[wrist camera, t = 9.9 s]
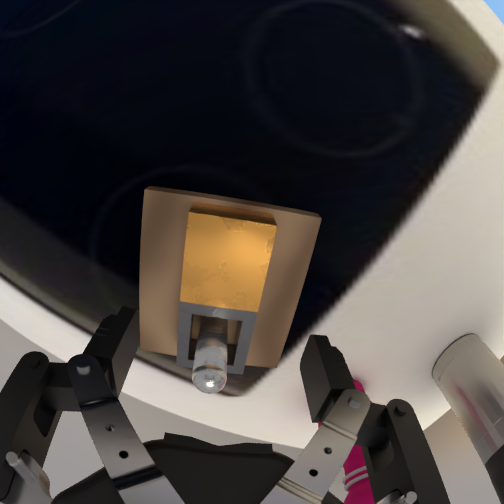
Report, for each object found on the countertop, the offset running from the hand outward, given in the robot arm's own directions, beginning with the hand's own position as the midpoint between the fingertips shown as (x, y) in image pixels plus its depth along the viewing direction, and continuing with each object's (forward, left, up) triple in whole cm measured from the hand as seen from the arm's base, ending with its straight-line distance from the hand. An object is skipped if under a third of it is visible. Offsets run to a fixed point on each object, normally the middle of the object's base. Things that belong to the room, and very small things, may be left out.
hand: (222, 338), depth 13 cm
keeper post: (0, +7, -11) cm, 14 cm away
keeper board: (0, +4, -13) cm, 14 cm away
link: (0, +4, -11) cm, 12 cm away
